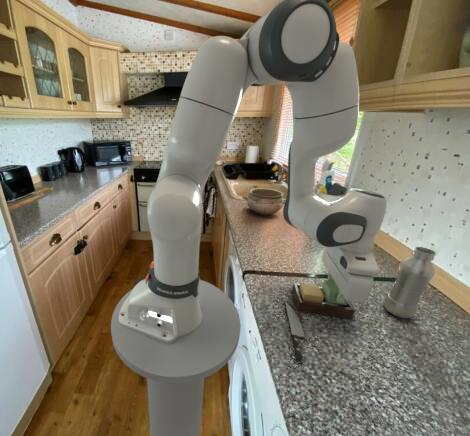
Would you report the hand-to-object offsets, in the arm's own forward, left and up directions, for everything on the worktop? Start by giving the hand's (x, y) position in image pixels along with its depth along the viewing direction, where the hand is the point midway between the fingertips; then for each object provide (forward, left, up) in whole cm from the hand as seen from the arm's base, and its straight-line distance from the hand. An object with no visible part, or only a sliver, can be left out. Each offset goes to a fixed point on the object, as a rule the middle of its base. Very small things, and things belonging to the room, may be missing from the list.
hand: (334, 292), depth 68 cm
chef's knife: (-12, -11, -4) cm, 17 cm away
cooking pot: (-12, +71, -5) cm, 72 cm away
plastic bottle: (+17, +1, -5) cm, 18 cm away
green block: (0, 0, -2) cm, 2 cm away
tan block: (-6, 0, -4) cm, 7 cm away
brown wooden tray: (-3, 0, -4) cm, 5 cm away
